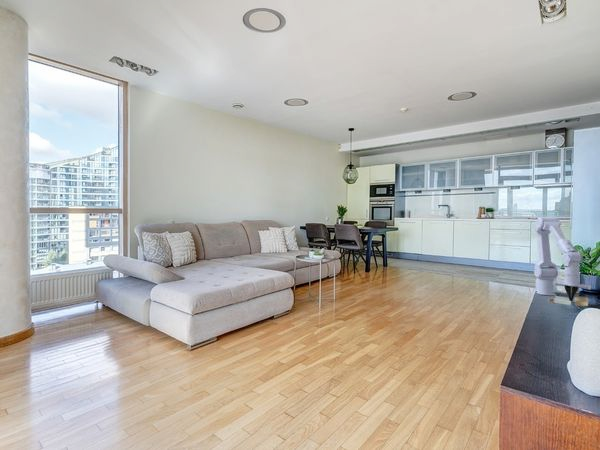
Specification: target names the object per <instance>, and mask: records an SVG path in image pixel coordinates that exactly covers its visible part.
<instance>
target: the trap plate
mask: <svg viewBox="0 0 600 450" xmlns="http://www.w3.org/2000/svg"><path fill="white" fill-rule="evenodd" d="M547 303H553V304H554V303H555V298H548V299H547Z"/></svg>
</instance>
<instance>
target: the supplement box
mask: <svg viewBox="0 0 600 450" xmlns="http://www.w3.org/2000/svg"><path fill="white" fill-rule="evenodd" d="M557 270H558V276H557V277H556V281H559V282H564V271H565V269H557ZM556 290H557V291H558V292H561V293H564V294H567V292H566V290H565V286H558V285H556ZM571 294H572V287H571ZM576 294H580V288H578V291H577V292H576Z"/></svg>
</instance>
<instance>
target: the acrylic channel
mask: <svg viewBox="0 0 600 450" xmlns="http://www.w3.org/2000/svg"><path fill="white" fill-rule="evenodd" d="M554 296H555V295H554ZM554 299H555V301H554V303H556V304H561V305H567V306H571V305H572V301H569V297H563V296H555V298H554Z"/></svg>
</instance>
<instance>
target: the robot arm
mask: <svg viewBox="0 0 600 450" xmlns="http://www.w3.org/2000/svg"><path fill="white" fill-rule="evenodd" d="M561 224H562V223H561V221H560V219H559V218H558V217H537V219H536V220H535V222H534V227H535V232H536V235H537V238H536V239H537V246H538V247H537V249H538V257H539V258H538V259H539V261H538V262H537V263H535V264H534V270H533V274H534V275H535V277H536V279H535V289H534V290H533V292H535V293H537V295H538V294H539V295H542V296H557V294H556V293H555V292H554V291H555V290H554V288H555V287H554V286H557V285H558V286H565V290H566V292H567V293H566V294H567V296H568V298H569V301H571V303H572V302H573V301H574V299H575V296H576V294H577V293H576V292H577V291H578V288H579V289H585V290H591V289H592V285H591V284H585V283H580V263H582V262H583V260H584V256H583V253H582V252H581V251H579V250H578V249H576V248H575V247H574V245H573V244H572V242H571V241H570V240H569V239H568V238H567V239H566V237H565V235H564V233H563V230H562V229H561ZM550 233H551V234H552V236H553V237H554V239H556V241H557V243H556V247H558V249H559V251H560V253H561V255H562V256H561V260H562V263H563V266H564V270H565V271H564V282H559V281H557V280H556V279H557V276H558V270H559V269H558V268H557V264H555V263H553V261H552V258H551V257H552V255H551V247H550V245H551V244H550ZM571 287H572V293H571ZM536 291H537V292H536ZM557 297H558V296H557Z"/></svg>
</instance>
